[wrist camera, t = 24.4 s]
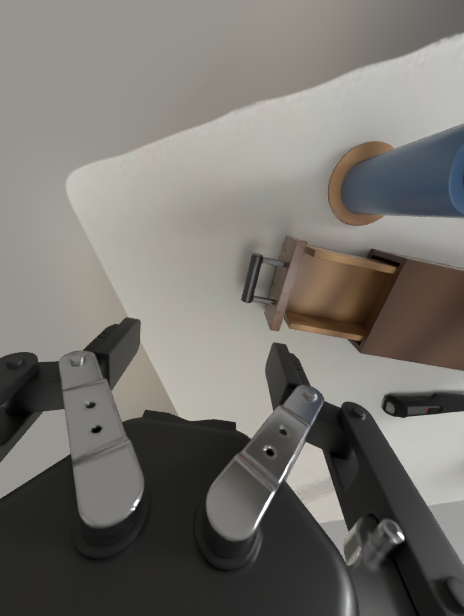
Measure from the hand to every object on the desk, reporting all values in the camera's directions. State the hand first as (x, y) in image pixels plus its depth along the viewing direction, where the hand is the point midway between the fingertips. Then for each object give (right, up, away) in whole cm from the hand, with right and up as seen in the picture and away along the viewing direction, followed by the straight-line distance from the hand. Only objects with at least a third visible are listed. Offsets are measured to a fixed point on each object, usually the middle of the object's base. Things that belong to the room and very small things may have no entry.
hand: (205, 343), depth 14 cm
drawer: (+13, +5, +18) cm, 23 cm away
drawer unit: (+27, +3, +20) cm, 34 cm away
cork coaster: (+18, +17, +14) cm, 29 cm away
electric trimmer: (+37, -14, +28) cm, 48 cm away
